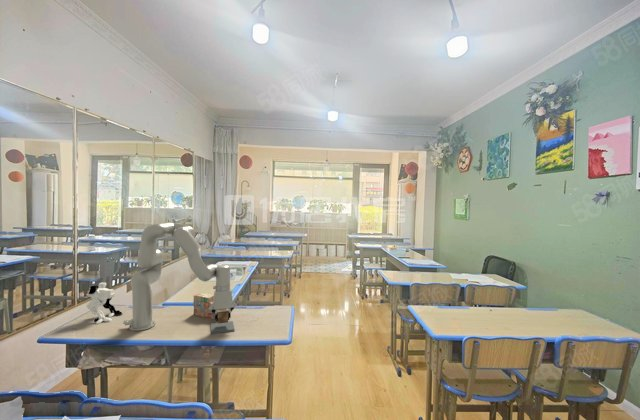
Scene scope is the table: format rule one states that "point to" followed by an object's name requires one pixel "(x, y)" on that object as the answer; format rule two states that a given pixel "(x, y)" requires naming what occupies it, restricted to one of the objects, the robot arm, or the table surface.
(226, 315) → the walnut cube
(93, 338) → the table surface
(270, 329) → the table surface
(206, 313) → the stack of blocks
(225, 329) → the mat
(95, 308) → the robot toy
